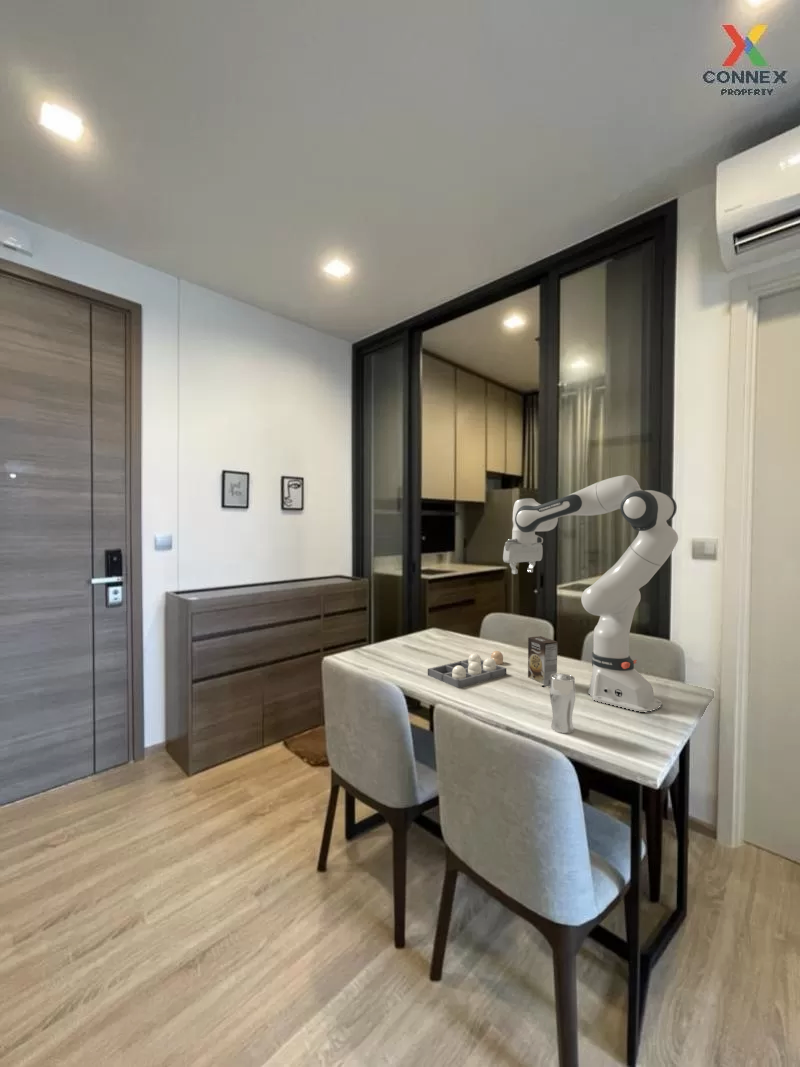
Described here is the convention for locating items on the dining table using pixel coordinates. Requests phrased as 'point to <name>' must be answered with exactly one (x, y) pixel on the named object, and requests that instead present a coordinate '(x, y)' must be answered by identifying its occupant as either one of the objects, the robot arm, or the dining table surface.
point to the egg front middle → (474, 668)
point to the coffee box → (542, 659)
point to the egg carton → (445, 674)
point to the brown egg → (497, 657)
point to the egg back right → (474, 658)
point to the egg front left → (459, 672)
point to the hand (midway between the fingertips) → (522, 573)
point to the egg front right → (489, 664)
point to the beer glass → (562, 701)
